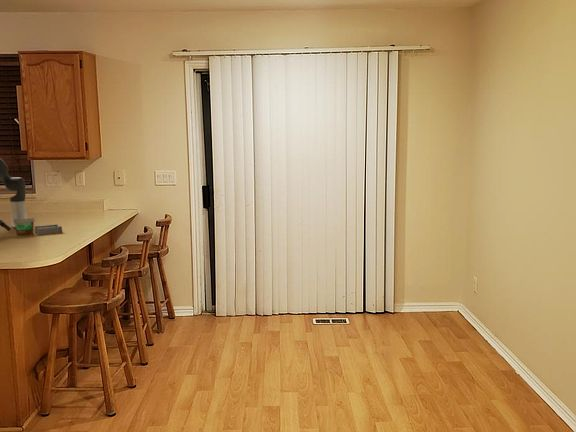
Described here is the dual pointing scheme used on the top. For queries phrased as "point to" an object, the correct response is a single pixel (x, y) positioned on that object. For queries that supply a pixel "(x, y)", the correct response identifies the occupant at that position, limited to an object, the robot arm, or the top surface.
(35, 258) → the top surface
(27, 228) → the food container
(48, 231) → the dock
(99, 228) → the top surface
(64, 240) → the top surface
